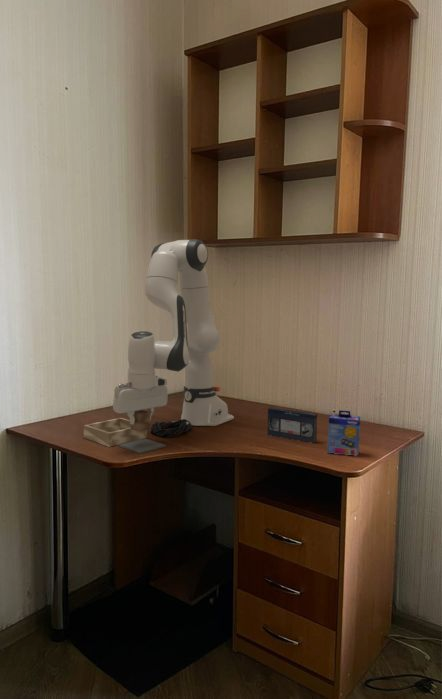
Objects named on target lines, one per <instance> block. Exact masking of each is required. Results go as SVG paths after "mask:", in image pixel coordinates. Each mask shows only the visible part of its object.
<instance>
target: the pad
mask: <svg viewBox="0 0 442 699" xmlns="http://www.w3.org/2000/svg"><path fill="white" fill-rule="evenodd" d="M118 447H119V448H122V449H124V450H128V451H131V452H134V453H135V454H143V453H147V452H152V451H154V450H158V449H161V448H166V447H167V445H166V444H164V443H161V442H158V441H154V440H151V439H149V438H143V439H139V440H135V441H131V442H127V443H123V444H119V445H118Z"/></svg>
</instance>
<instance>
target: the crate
mask: <svg viewBox="0 0 442 699" xmlns="http://www.w3.org/2000/svg"><path fill="white" fill-rule="evenodd" d="M144 438H145V439H148V430H146V431H141V432H138V431H135V430H132V429H131V424H130V419H127V418H123V417H118V418H113V419H107V420H104V421H99V422H98V421H97V422H93V423H90V424H84V425H83V439H86V440H89V441H91V442H92V441H93V442H94V443H98V444H100V445H103V446H106V447H108V448H109V447H113V446H119V445H120V444H124V443H128V442H132V441H136V440H140V439H144Z"/></svg>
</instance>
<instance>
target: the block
mask: <svg viewBox="0 0 442 699" xmlns="http://www.w3.org/2000/svg"><path fill="white" fill-rule="evenodd" d="M133 416H134V418H136V419H137V421H136V422H137V424H133V425H132V424H131V429H132V430H135V431H138V432H141V431H146V430H147V431H150V430H151V421H150V412H149V411H148V410H147V409H144V410H138V411H134V414H133Z"/></svg>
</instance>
